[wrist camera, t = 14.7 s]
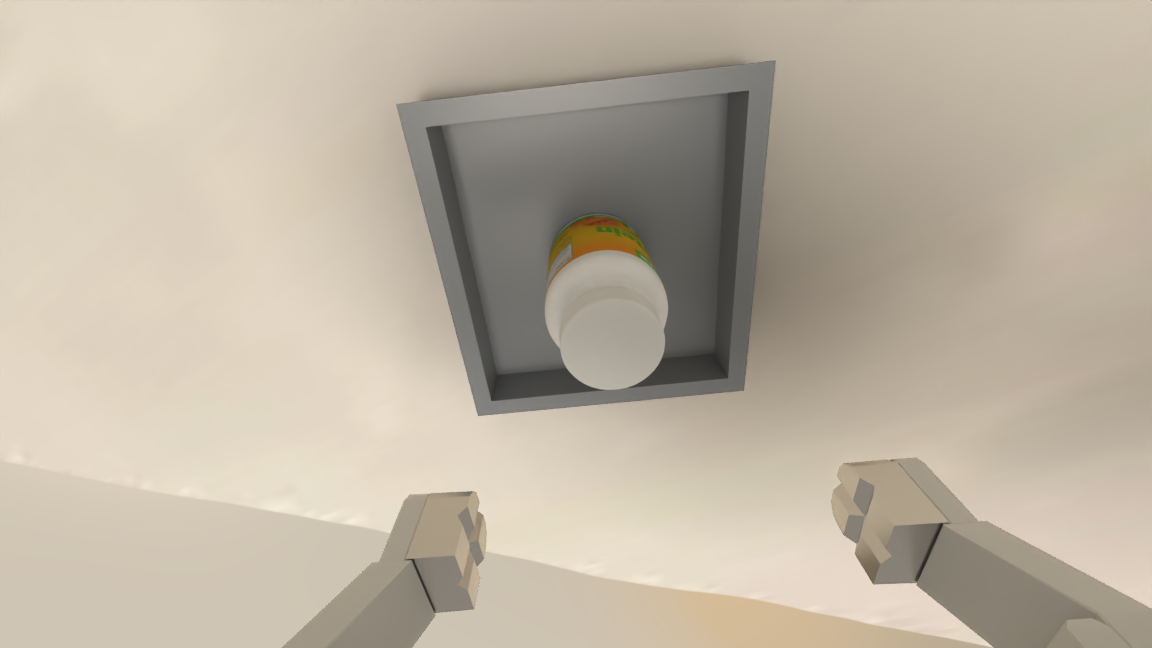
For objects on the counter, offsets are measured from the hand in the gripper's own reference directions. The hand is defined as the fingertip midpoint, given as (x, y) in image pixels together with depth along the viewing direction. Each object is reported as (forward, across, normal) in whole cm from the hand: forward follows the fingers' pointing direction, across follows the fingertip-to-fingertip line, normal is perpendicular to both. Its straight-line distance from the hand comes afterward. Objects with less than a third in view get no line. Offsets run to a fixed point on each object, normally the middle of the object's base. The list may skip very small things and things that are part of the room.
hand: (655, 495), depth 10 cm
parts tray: (+18, +1, 0) cm, 18 cm away
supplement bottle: (+17, +1, 0) cm, 17 cm away
